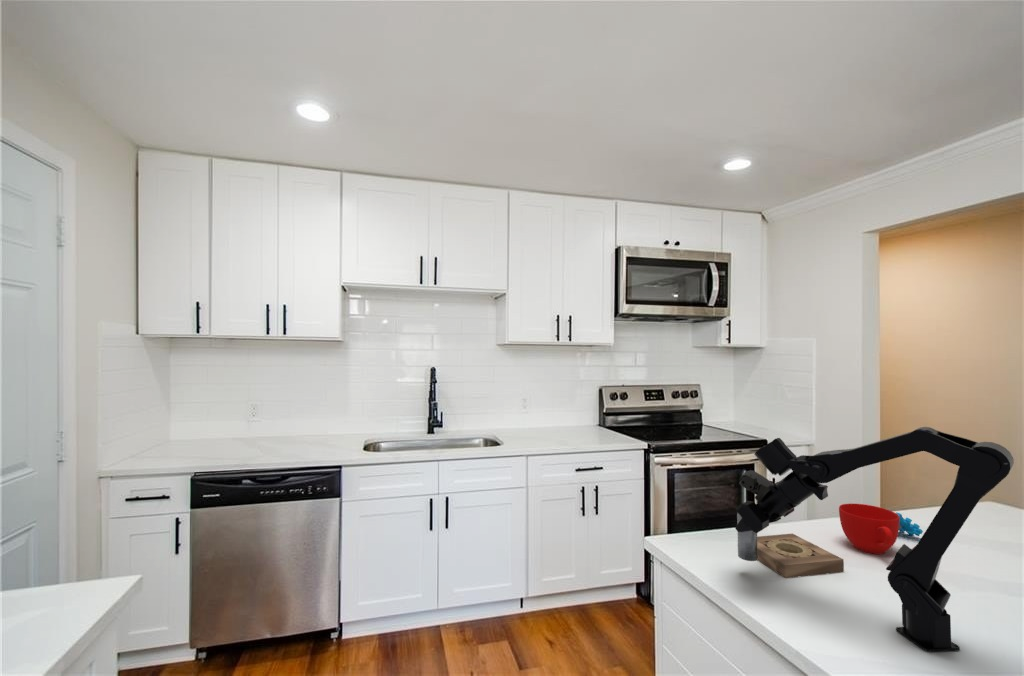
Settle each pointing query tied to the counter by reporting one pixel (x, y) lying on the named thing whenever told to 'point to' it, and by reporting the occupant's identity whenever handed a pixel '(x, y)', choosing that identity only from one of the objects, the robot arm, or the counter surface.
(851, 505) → the ceramic cup
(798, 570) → the bearing housing
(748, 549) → the steel roller
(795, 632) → the counter surface
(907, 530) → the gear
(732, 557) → the counter surface
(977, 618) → the counter surface
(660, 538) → the counter surface
